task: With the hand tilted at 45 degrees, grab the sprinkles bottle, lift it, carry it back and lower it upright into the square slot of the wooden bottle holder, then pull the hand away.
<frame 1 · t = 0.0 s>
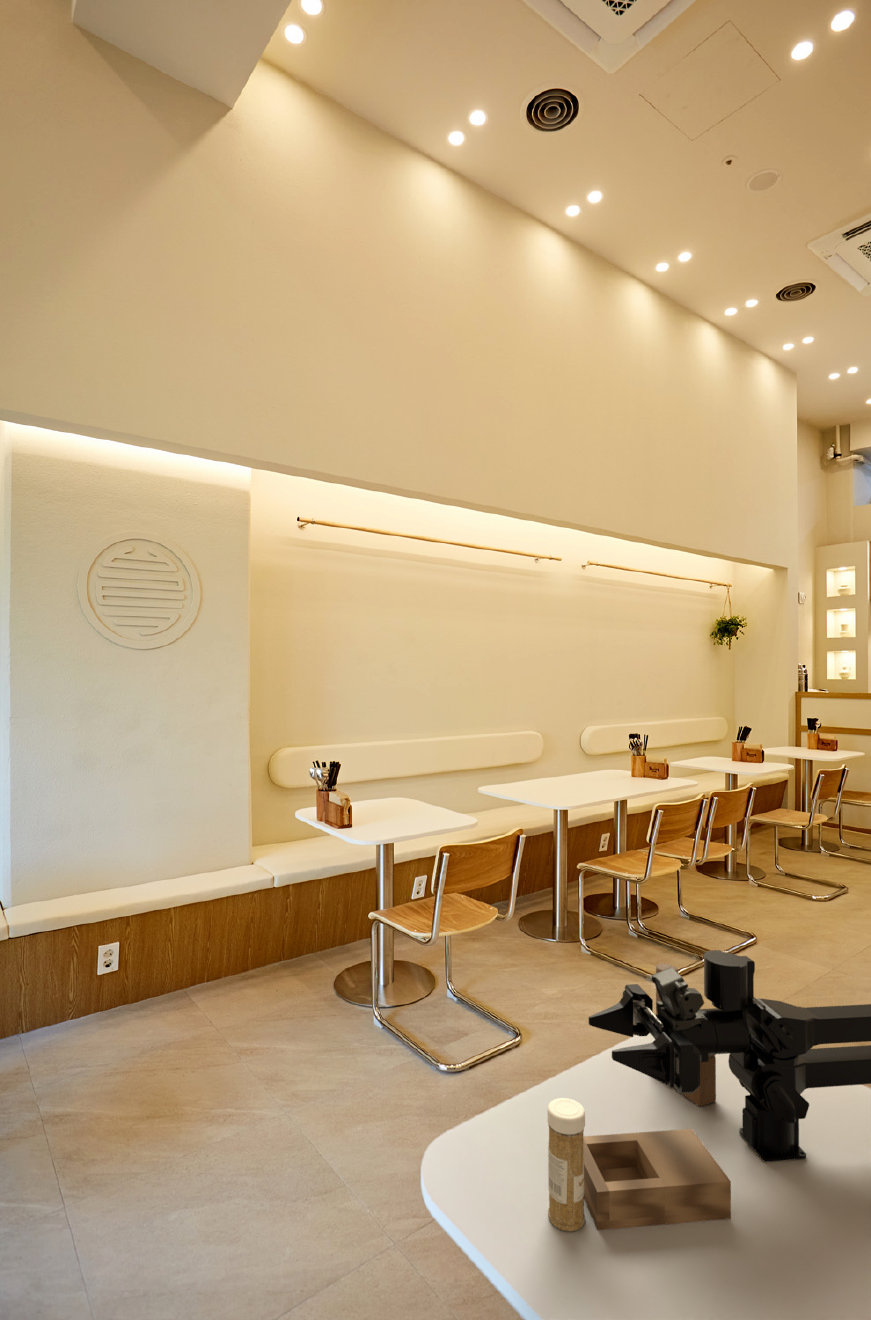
hand: (599, 1037, 96), 17 cm above the table, tool horizontal, fingers open, 9 cm apart
wooden bottle holder: (621, 1196, 89), on the table
wooden block: (682, 1088, 113), on the table
sprinkles bottle: (566, 1220, 85), on the table
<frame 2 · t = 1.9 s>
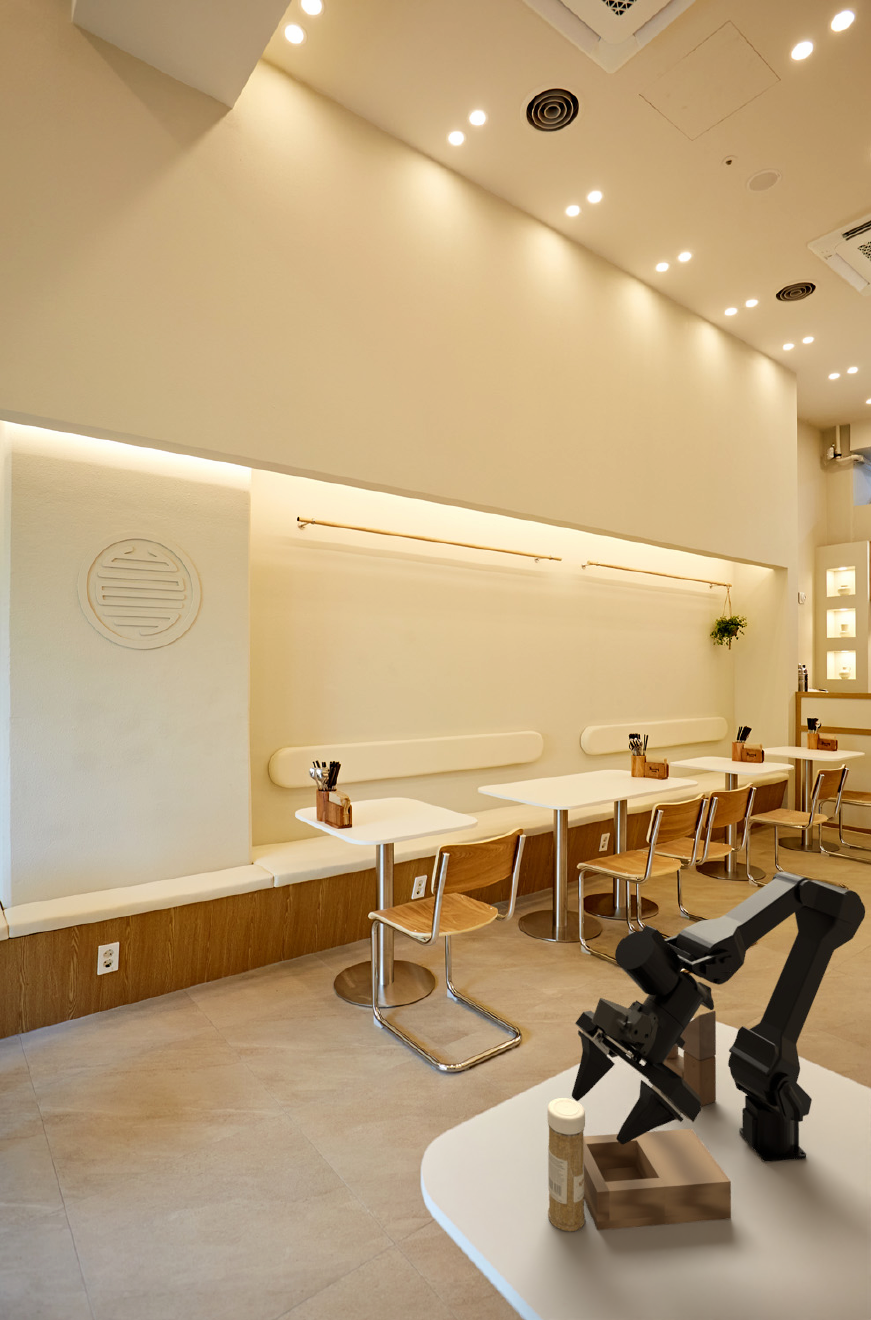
hand: (595, 1119, 87), 11 cm above the table, tool tilted 45°, fingers open, 9 cm apart
nothing on the table moved.
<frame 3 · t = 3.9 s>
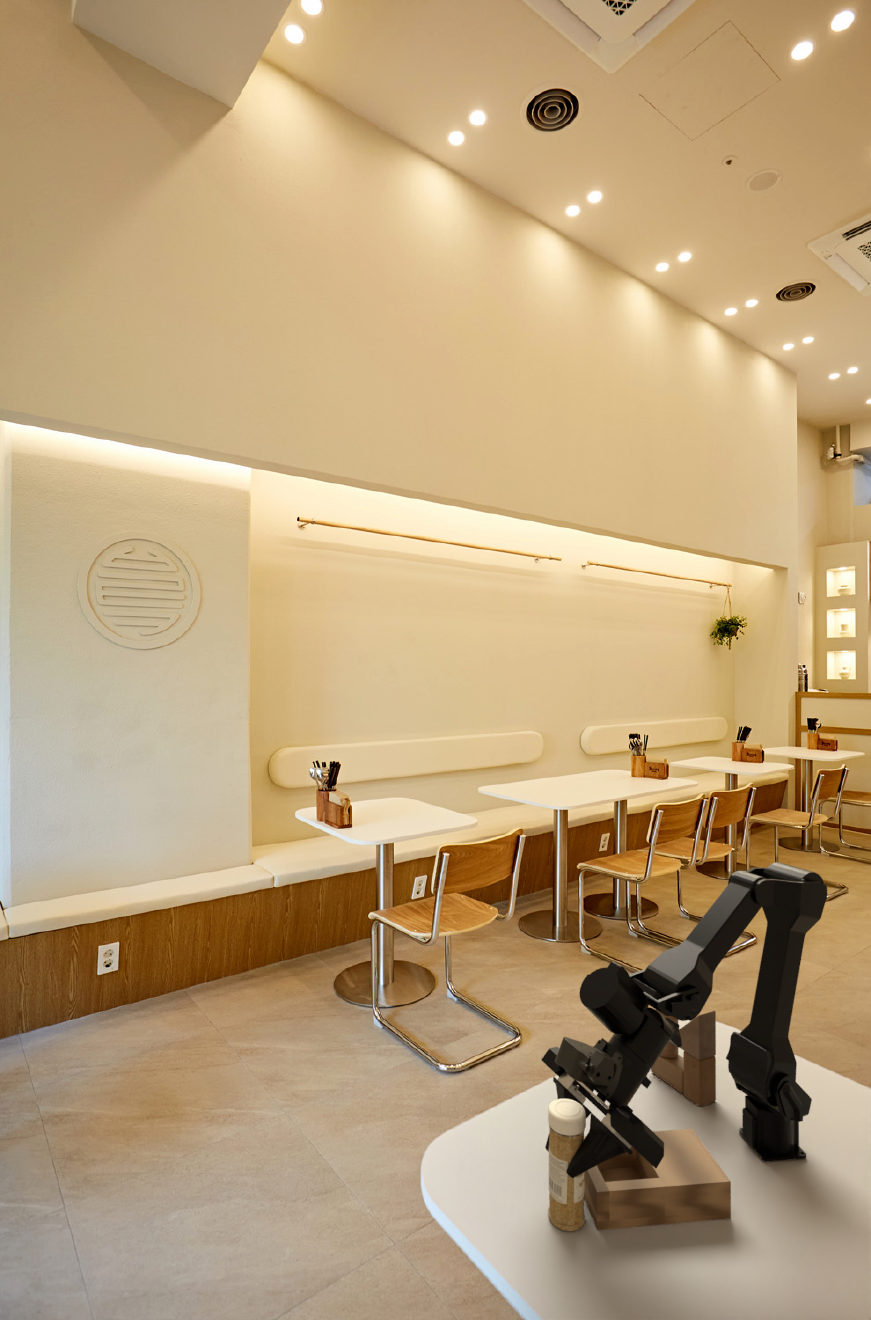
hand: (558, 1163, 85), 7 cm above the table, tool tilted 45°, fingers closed on sprinkles bottle, 4 cm apart
sprinkles bottle: (566, 1219, 85), on the table, touching gripper
everything else where it was.
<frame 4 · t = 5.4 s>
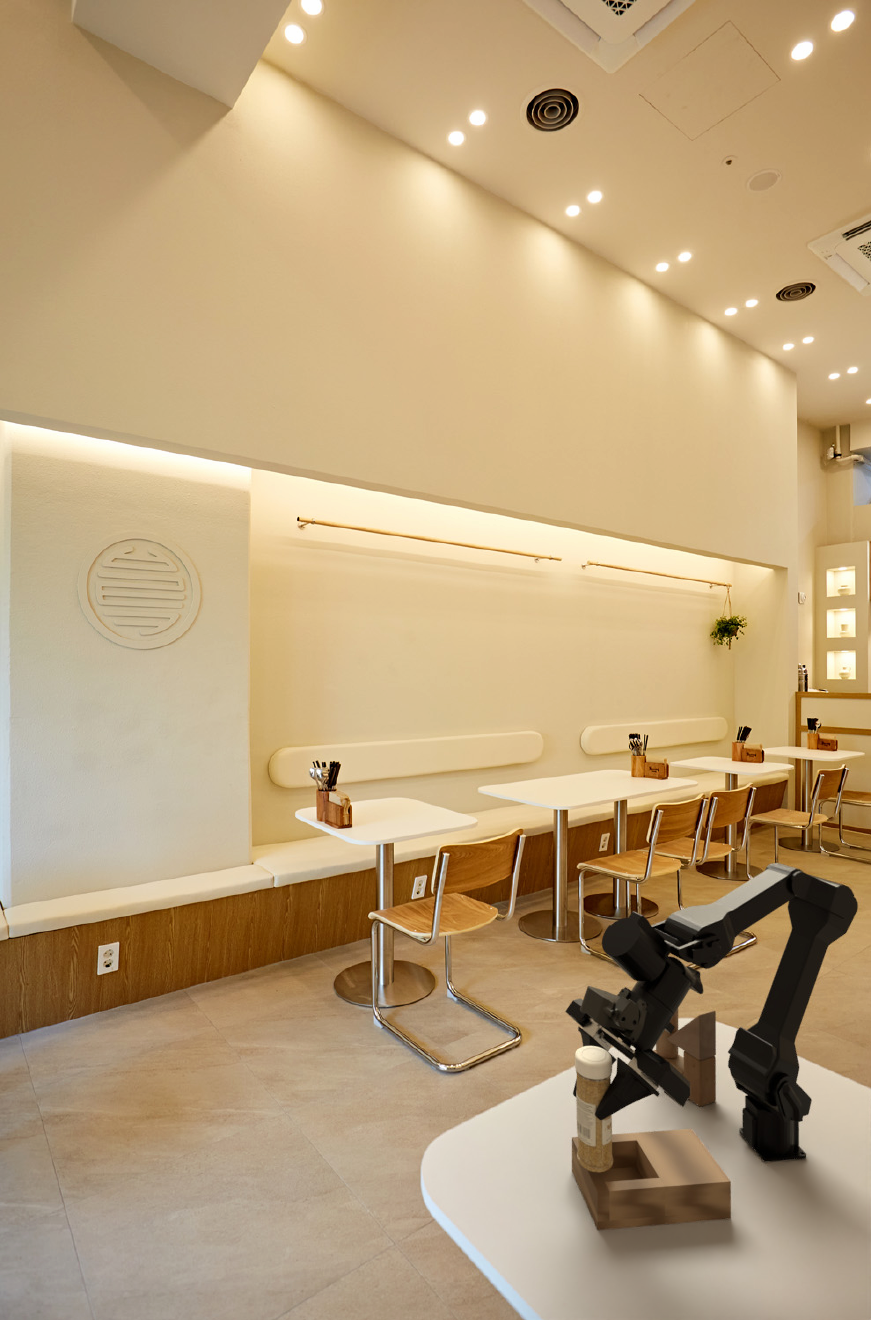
hand: (586, 1107, 87), 13 cm above the table, tool tilted 45°, fingers closed on sprinkles bottle, 4 cm apart
sprinkles bottle: (594, 1162, 87), point 5 cm above the table, touching gripper
everything else where it was.
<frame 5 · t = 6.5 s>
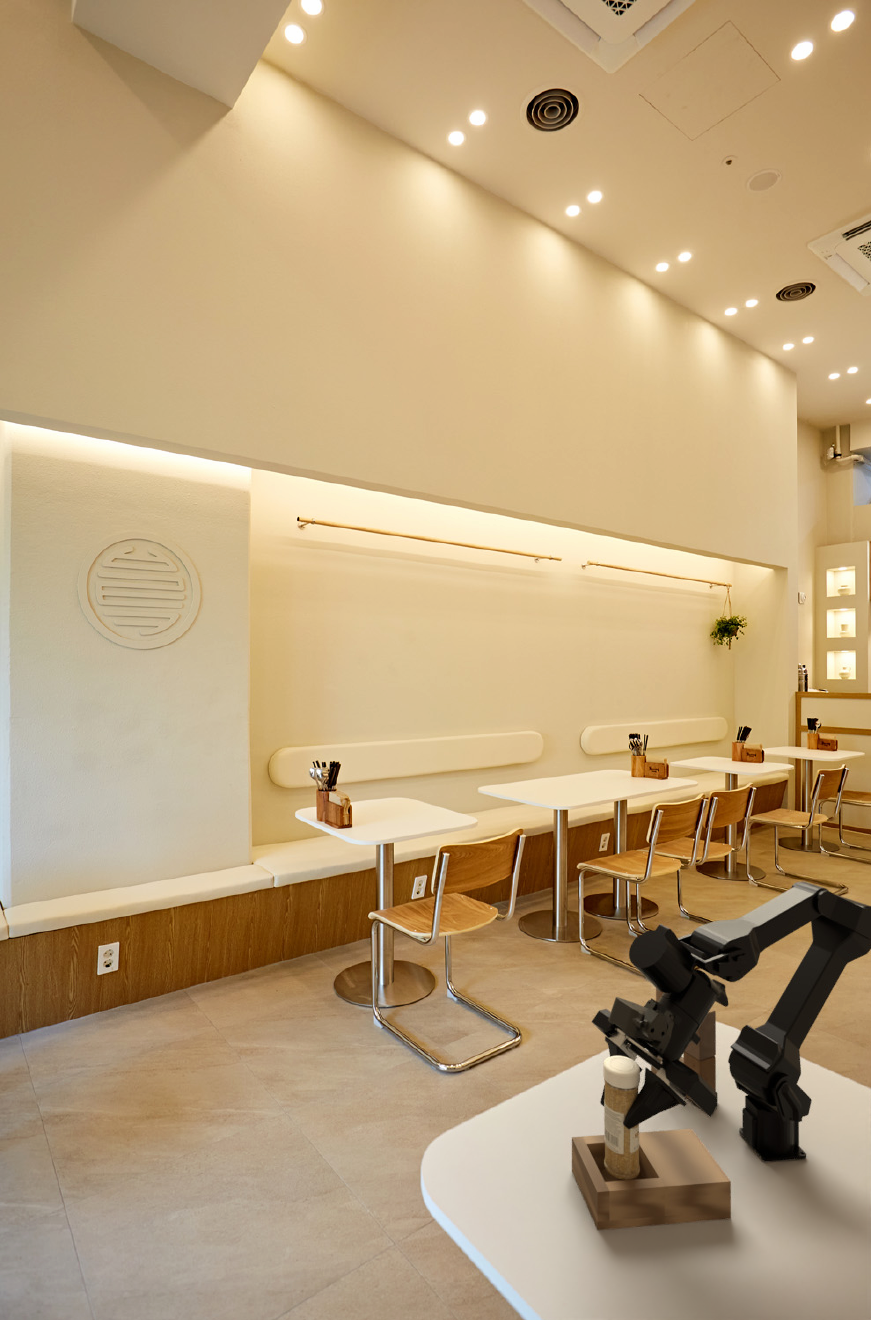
hand: (614, 1116, 89), 10 cm above the table, tool tilted 45°, fingers closed on sprinkles bottle, 4 cm apart
sprinkles bottle: (621, 1170, 89), point 3 cm above the table, touching gripper
everything else where it was.
when the fingers open (9 cm above the table, at t = 7.2 s): sprinkles bottle stays where it is, resting on wooden bottle holder.
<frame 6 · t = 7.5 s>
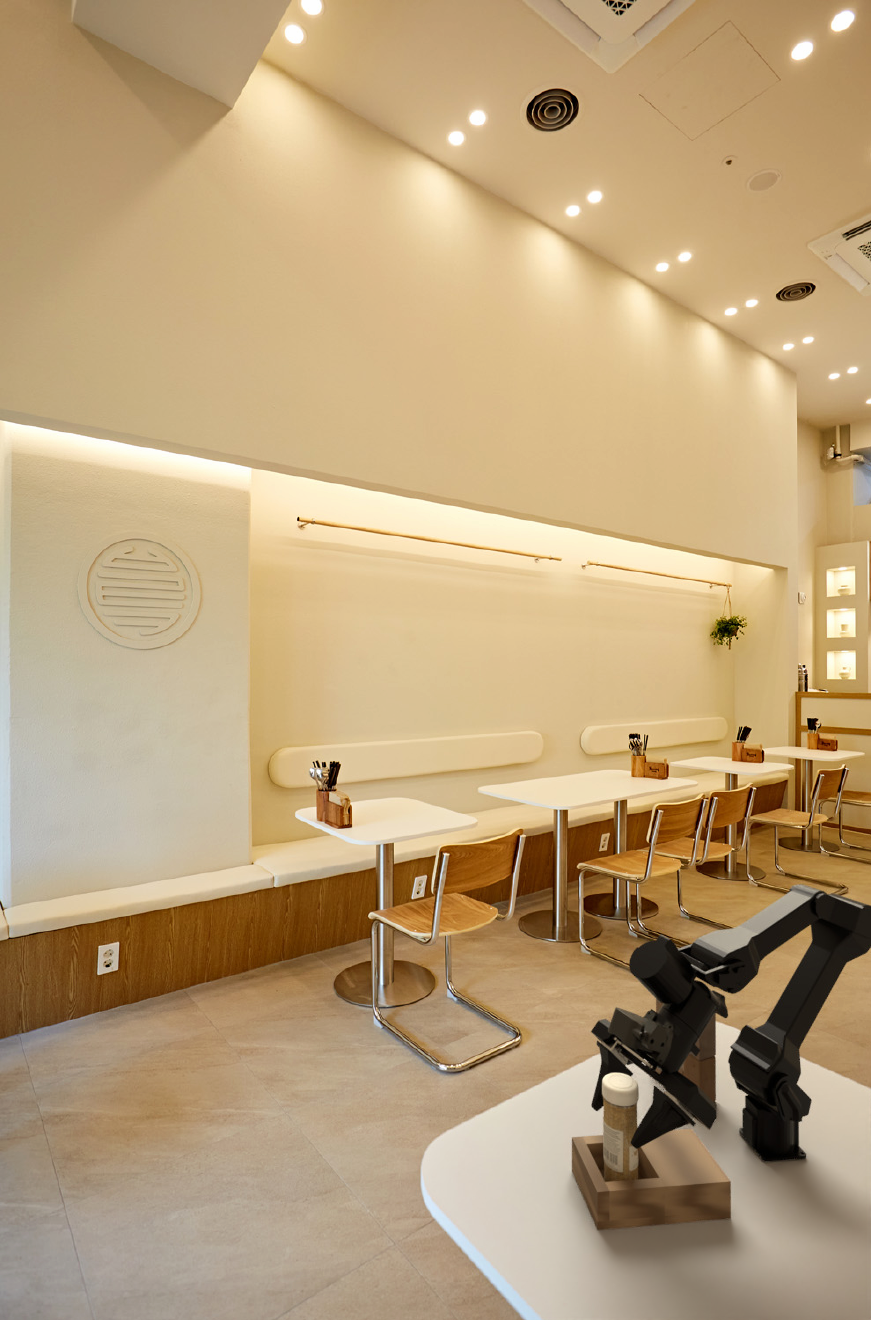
hand: (612, 1127, 88), 9 cm above the table, tool tilted 45°, fingers open, 8 cm apart
sprinkles bottle: (620, 1188, 89), point 1 cm above the table, touching wooden bottle holder
everything else where it was.
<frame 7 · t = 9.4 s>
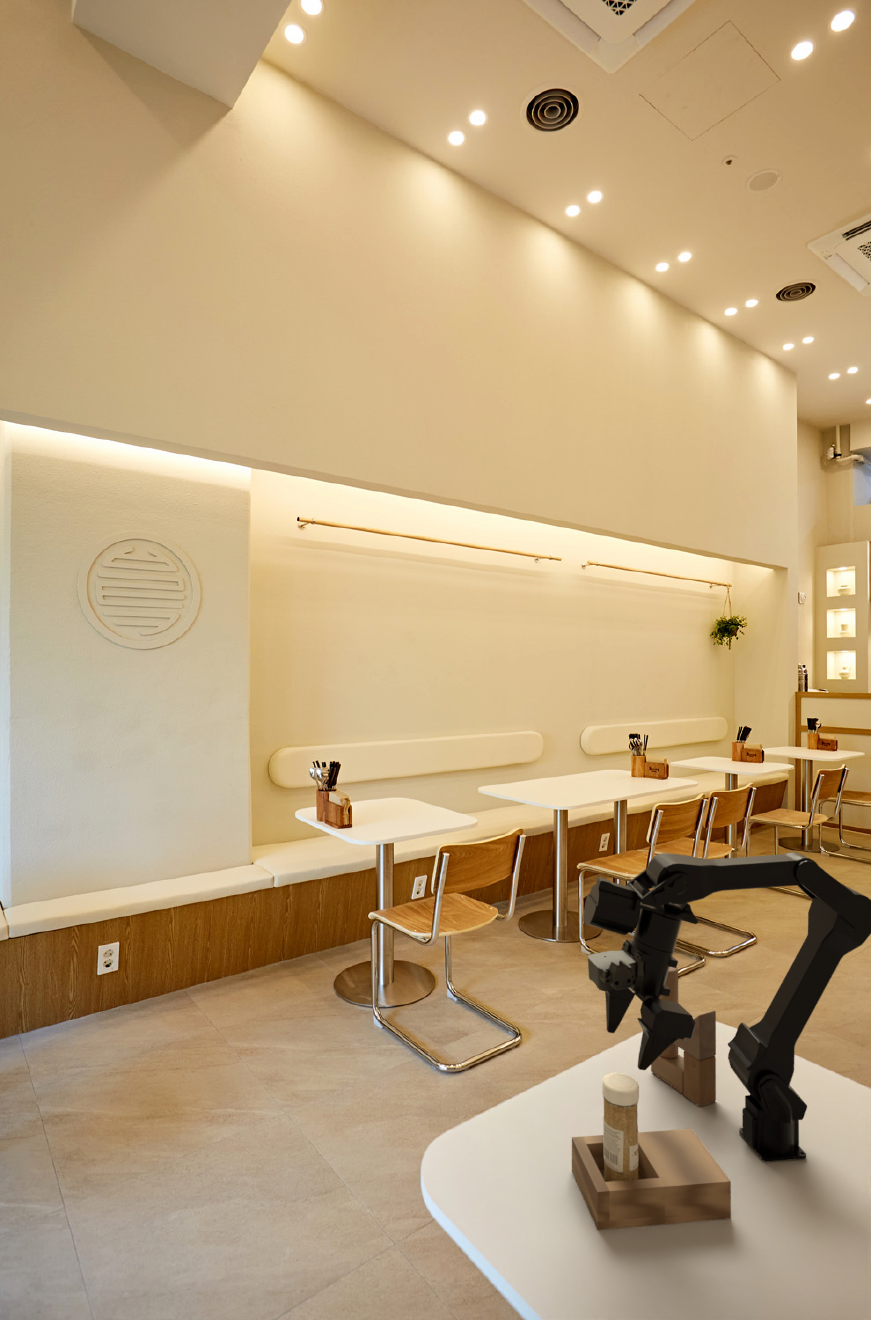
hand: (625, 1050, 99), 13 cm above the table, tool tilted 15°, fingers open, 9 cm apart
nothing on the table moved.
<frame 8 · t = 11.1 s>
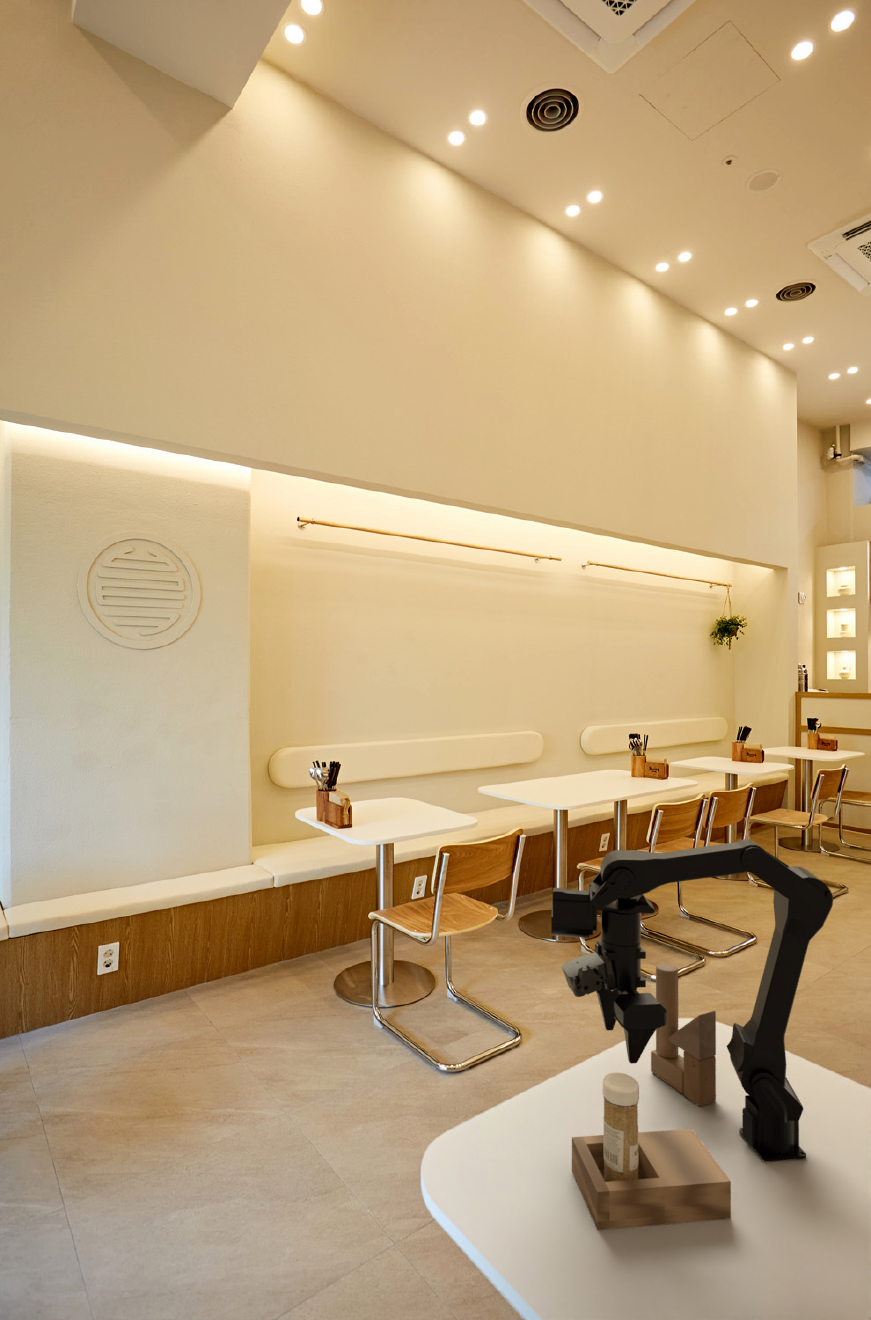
hand: (620, 1045, 103), 12 cm above the table, tool pointing down, fingers open, 9 cm apart
nothing on the table moved.
at the end: sprinkles bottle 0.2 cm off-centre on the wooden bottle holder, point 0.8 cm above the wooden bottle holder's base; sprinkles bottle tilted 0°; the gripper is holding nothing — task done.
